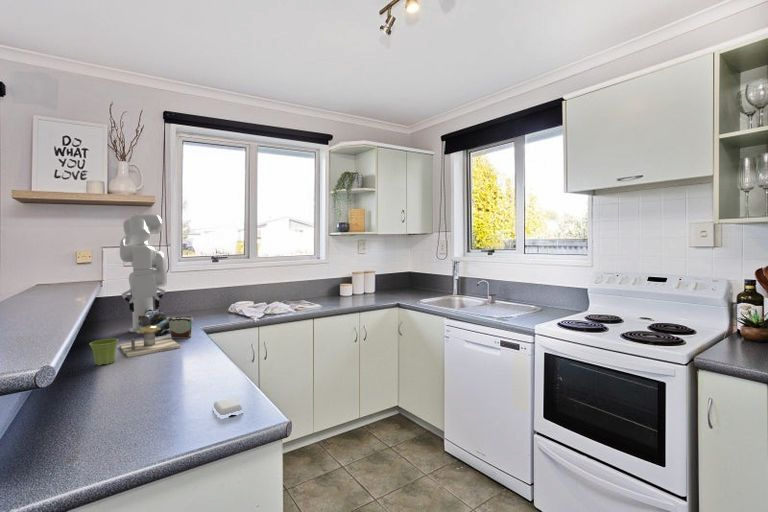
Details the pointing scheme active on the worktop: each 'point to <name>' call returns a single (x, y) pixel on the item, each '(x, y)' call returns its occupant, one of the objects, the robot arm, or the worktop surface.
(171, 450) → the worktop surface
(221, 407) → the soap
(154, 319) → the lucky cat figurine
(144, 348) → the post base
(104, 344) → the plant pot
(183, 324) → the food container
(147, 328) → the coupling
